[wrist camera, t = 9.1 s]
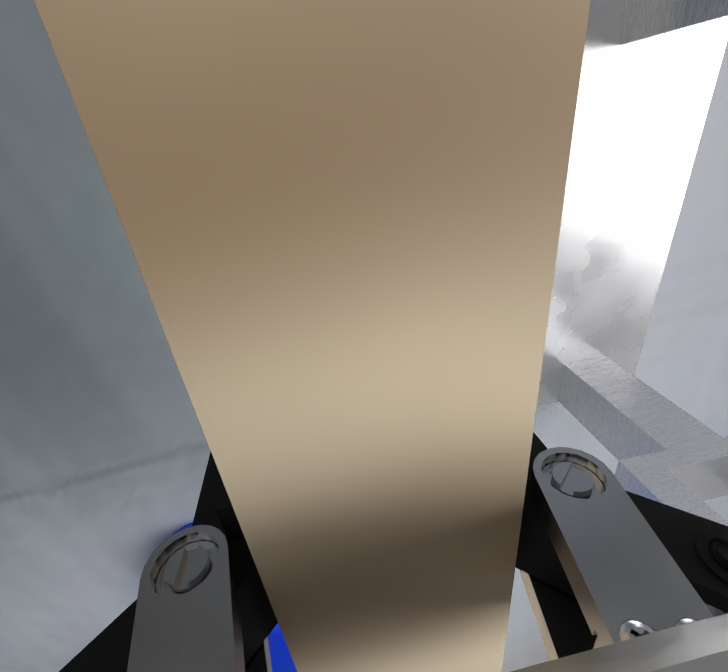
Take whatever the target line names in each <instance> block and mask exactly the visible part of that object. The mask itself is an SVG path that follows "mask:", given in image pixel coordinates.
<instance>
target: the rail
mask: <svg viewBox="0 0 728 672" xmlns="http://www.w3.org/2000/svg"><path fill="white" fill-rule="evenodd" d="M34 1H35V4H36V6H37V9H38V11H39V14H40V17H41V19H42V22H43V24H44V27H45V29H46V32H47V34H48V37H49V40H50V42H51V45H52V47H53V50H54V52H55V55H56V57H57V60H58V62H59V65H60V68H61V70H62V73H63V75H64V78H65V80H66V83H67V85H68V88H69V91H70V93H71V96H72V98H73V101H74V103H75V106H76V108H77V111H78V114H79V116H80V119H81V121H82V124H83V126H84V129H85V131H86V134H87V136H88V139H89V142H90V144H91V147H92V149H93V152H94V154H95V157H96V159H97V162H98V165H99V167H100V170H101V172H102V175H103V177H104V180H105V182H106V185H107V187H108V190H109V193H110V195H111V198H112V200H113V203H114V205H115V208H116V210H117V213H118V216H119V218H120V221H121V223H122V226H123V228H124V231H125V233H126V236H127V238H128V241H129V244H130V246H131V249H132V251H133V254H134V256H135V259H136V261H137V264H138V267H139V269H140V272H141V274H142V277H143V279H144V282H145V284H146V287H147V289H148V292H149V295H150V297H151V300H152V302H153V305H154V307H155V310H156V312H157V315H158V318H159V320H160V323H161V325H162V328H163V330H164V333H165V335H166V338H167V340H168V343H169V346H170V348H171V351H172V353H173V356H174V358H175V361H176V363H177V366H178V369H179V371H180V374H181V376H182V379H183V381H184V384H185V386H186V389H187V391H188V394H189V397H190V399H191V402H192V404H193V407H194V409H195V412H196V414H197V417H198V420H199V422H200V425H201V427H202V430H203V432H204V435H205V437H206V440H207V442H208V445H209V448H210V450H211V453H212V455H213V458H214V460H215V463H216V465H217V468H218V471H219V473H220V476H221V478H222V481H223V483H224V486H225V488H226V491H227V493H228V496H229V499H230V501H231V504H232V506H233V509H234V511H235V514H236V516H237V519H238V522H239V524H240V527H241V529H242V532H243V534H244V537H245V539H246V542H247V544H248V547H249V550H250V552H251V555H252V557H253V560H254V562H255V565H256V567H257V570H258V573H259V575H260V578H261V580H262V583H263V585H264V588H265V590H266V593H267V595H268V598H269V601H270V603H271V606H272V608H273V611H274V613H275V616H276V618H277V621H278V624H279V626H280V629H281V631H282V634H283V636H284V639H285V641H286V644H287V646H288V649H289V652H290V654H291V657H292V659H293V662H294V664H295V667H296V669H297V672H501V671H502V663H503V656H504V648H505V640H506V633H507V625H508V618H509V610H510V603H511V595H512V588H513V580H514V573H515V565H516V558H517V550H518V543H519V535H520V528H521V520H522V513H523V505H524V498H525V490H526V483H527V475H528V468H529V460H530V452H531V445H532V437H533V430H534V422H535V415H536V407H537V400H538V392H539V385H540V377H541V370H542V362H543V355H544V347H545V340H546V332H547V325H548V317H549V310H550V302H551V295H552V287H553V279H554V272H555V264H556V257H557V249H558V242H559V234H560V227H561V219H562V212H563V204H564V197H565V189H566V182H567V174H568V167H569V159H570V152H571V144H572V137H573V129H574V122H575V114H576V107H577V99H578V91H579V84H580V76H581V69H582V61H583V54H584V46H585V39H586V31H587V24H588V16H589V9H590V1H591V0H34Z"/></svg>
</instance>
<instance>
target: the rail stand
mask: <svg viewBox="0 0 728 672" xmlns="http://www.w3.org/2000/svg"><path fill="white" fill-rule="evenodd" d="M727 40H728V0H591V1H590V9H589V16H588V24H587V31H586V39H585V46H584V54H583V61H582V69H581V76H580V84H579V91H578V99H577V107H576V114H575V122H574V129H573V137H572V144H571V152H570V159H569V167H568V174H567V182H566V189H565V197H564V204H563V212H562V219H561V227H560V234H559V242H558V249H557V257H556V264H555V272H554V279H553V287H552V295H551V302H550V310H549V317H548V325H547V332H546V340H545V347H544V355H543V362H542V370H541V377H540V385H539V392H538V400H537V406H538V405H543V404H548V403H553V402H558V401H559V402H560V403H561V404H562V405H563V406H564V407H565V408H566V409H567V410H568V411H569V412H570V413H571V414H572V415H573V416H574V417H575V418H576V419H577V420H578V421H579V422H580V423H581V424H582V425H583V426H584V427H585V428H586V429H587V430H588V431H589V432H590V433H591V434H592V435H593V436H594V437H595V438H596V439H597V440H598V441H599V442H600V443H601V444H602V445H603V446H604V447H605V448H606V449H607V450H608V451H610V452H611V453H612V454H613V455H614V456H615V457H616V458H617V459H618V460H619V462H618V465H617V469H616V472H615V475H614V476H615V477H616V479H617V480H618V481H619V483H620V484H621V486H622V487H623V488H624V490H626V491H628V492H631V493H634V494H637V495H640V496H643V497H646V498H648V499H651V500H654V501H657V502H660V503H663V504H666V505H669V506H671V507H674V508H677V509H680V510H683V511H686V512H689V513H691V514H694V515H697V516H700V517H703V518H706V519H709V520H711V521H714V522H717V523H720V524H723V525H726V526H728V522H727V521H726V520H725V519H723V518H722V517H721V516H720V515H719V514H718V513H717V512H715V511H714V510H713V509H712V508H711V507H710V506H709V505H708V504H706V503H705V502H704V500H708V499H712V498H716V497H720V496H725V495H728V436H727V437H721V436H720V435H718V434H717V433H715V432H714V431H712V430H711V429H710V428H708V427H707V426H705V425H704V424H702V423H701V422H700V421H698V420H697V419H695V418H694V417H692V416H691V415H690V414H688V413H687V412H685V411H684V410H682V409H681V408H679V407H678V406H677V405H675V404H674V403H672V402H671V401H669V400H668V399H667V398H665V397H664V396H662V395H661V394H659V393H658V392H657V391H655V390H654V389H652V388H651V387H649V386H648V385H646V384H645V383H644V382H642V381H641V380H639V379H638V378H636V377H635V376H634V375H635V371H636V367H637V364H638V360H639V357H640V353H641V349H642V346H643V342H644V339H645V335H646V331H647V328H648V324H649V321H650V317H651V313H652V310H653V306H654V303H655V299H656V295H657V292H658V288H659V285H660V281H661V277H662V274H663V270H664V267H665V263H666V259H667V256H668V252H669V249H670V245H671V241H672V238H673V234H674V231H675V227H676V223H677V220H678V216H679V213H680V209H681V205H682V202H683V198H684V195H685V191H686V187H687V184H688V180H689V177H690V173H691V169H692V166H693V162H694V159H695V155H696V151H697V148H698V144H699V141H700V137H701V133H702V130H703V126H704V123H705V119H706V115H707V112H708V108H709V105H710V101H711V97H712V94H713V90H714V87H715V83H716V79H717V76H718V72H719V69H720V65H721V61H722V58H723V54H724V51H725V47H726V43H727Z"/></svg>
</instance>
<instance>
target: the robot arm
mask: <svg viewBox="0 0 728 672" xmlns="http://www.w3.org/2000/svg"><path fill="white" fill-rule="evenodd" d="M515 567H516V568H518V569H520V573H521V577H522V580H523V583H524V586H525V589H526V591H527V594H528V597H529V600H530V603H531V606H532V609H533V612H534V615H535V618H536V621H537V624H538V627H539V630H540V633H541V636H542V639H543V642H544V645H545V648H546V651H547V654H548V657H549V660H550V661H548V662H544V663H540V664H537V665H533V666H530V667H526V668H523V669H519V670H515V671H512V672H728V526H726V525H723V524H720V523H717V522H714V521H711V520H709V519H706V518H703V517H700V516H697V515H694V514H691V513H689V512H686V511H683V510H680V509H677V508H674V507H671V506H669V505H666V504H663V503H660V502H657V501H654V500H651V499H648V498H646V497H643V496H640V495H637V494H634V493H631V492H628V491H626V490H624V488H623V487H622V486H621V484H620V483H619V481H618V480H617V479H616V477H615V476H614V474H613V473H612V472H611V470H610V469H609V468H608V467H607V466H606V465H605V464H604V463H603V462H601V461H600V460H598V459H597V458H595V457H594V456H592V455H590V454H588V453H585V452H583V451H581V450H577V449H572V448H565V447H556V448H550V449H547V448H546V446H545V445H544V444H543V443H542V442H541V441H540V439H539V438H538V437H537V436H536V435H535V433H534V432H533V437H532V445H531V452H530V460H529V468H528V475H527V483H526V490H525V498H524V505H523V513H522V520H521V528H520V535H519V543H518V550H517V558H516V565H515ZM277 623H278V621H277V618H276V616H275V613H274V611H273V608H272V606H271V603H270V601H269V598H268V595H267V593H266V590H265V588H264V585H263V583H262V580H261V578H260V575H259V573H258V570H257V567H256V565H255V562H254V560H253V557H252V555H251V552H250V550H249V547H248V544H247V542H246V539H245V537H244V534H243V532H242V529H241V527H240V524H239V522H238V519H237V516H236V514H235V511H234V509H233V506H232V504H231V501H230V499H229V496H228V493H227V491H226V488H225V486H224V483H223V481H222V478H221V476H220V473H219V471H218V468H217V465H216V463H215V460H214V458H213V455H212V453H210V457H209V461H208V465H207V469H206V473H205V477H204V481H203V485H202V489H201V493H200V497H199V501H198V505H197V509H196V513H195V517H194V521H193V525H192V527H188V528H185V529H183V530H181V531H179V532H177V533H175V534H173V535H172V536H171V537H169V538H168V539H167V540H165V541H164V542H163V543H162V544H161V545H160V546H159V547H158V548H157V549H156V550H155V551H154V552H153V553H152V555H151V556H150V558H149V560H148V561H147V563H146V565H145V566H144V569H143V572H142V575H141V579H140V584H139V591H138V598H137V600H136V601H134V602H133V603H132V604H131V605H130V606H129V607H128V608H127V609H126V610H125V611H124V612H123V613H122V614H120V615H119V616H118V617H117V618H116V619H115V620H114V621H113V622H112V623H111V624H110V625H109V626H108V627H107V628H105V629H104V630H103V631H102V632H101V633H100V634H99V635H98V636H97V637H96V638H95V639H94V640H93V641H91V642H90V643H89V644H88V645H87V646H86V647H85V648H84V649H83V650H82V651H81V652H80V653H79V654H77V655H76V656H75V657H74V658H73V659H72V660H71V661H70V662H69V663H68V664H67V665H66V666H65V667H64V668H62V669H61V670H60V671H59V672H272V666H271V658H270V651H269V644H268V637H267V636H268V635H269V634H270V632H271V631H272V630H273V628H274V627H275V626H276V625H277Z"/></svg>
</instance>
